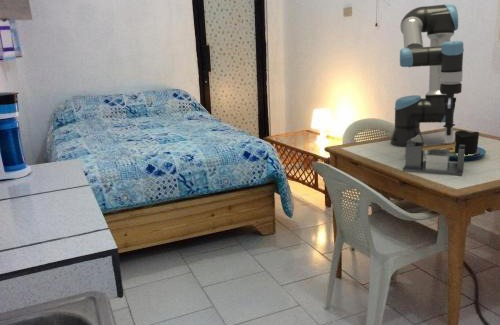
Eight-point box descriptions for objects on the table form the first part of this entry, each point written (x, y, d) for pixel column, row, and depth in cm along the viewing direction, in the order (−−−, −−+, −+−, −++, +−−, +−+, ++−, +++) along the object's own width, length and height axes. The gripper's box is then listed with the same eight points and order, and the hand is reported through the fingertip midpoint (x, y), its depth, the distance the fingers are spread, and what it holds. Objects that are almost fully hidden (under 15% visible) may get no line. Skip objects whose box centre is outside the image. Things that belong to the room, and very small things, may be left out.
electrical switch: (418, 159, 192) (417, 139, 190) (406, 159, 196) (405, 139, 194) (425, 154, 199) (424, 134, 197) (413, 154, 203) (412, 134, 200)
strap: (415, 152, 179) (414, 148, 179) (416, 149, 183) (415, 146, 182) (455, 146, 172) (454, 143, 171) (456, 144, 175) (455, 140, 175)
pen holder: (461, 158, 189) (462, 136, 186) (449, 152, 198) (450, 131, 195) (481, 156, 190) (483, 134, 187) (469, 150, 199) (471, 129, 196)
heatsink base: (402, 171, 179) (403, 148, 176) (407, 162, 190) (408, 139, 187) (462, 175, 169) (463, 151, 166) (463, 165, 180) (465, 142, 177)
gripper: (441, 81, 175) (439, 138, 181) (438, 85, 163) (436, 146, 170) (462, 80, 171) (459, 139, 178) (461, 84, 160) (458, 147, 166)
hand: (448, 142), depth 174 cm, fingers closed
